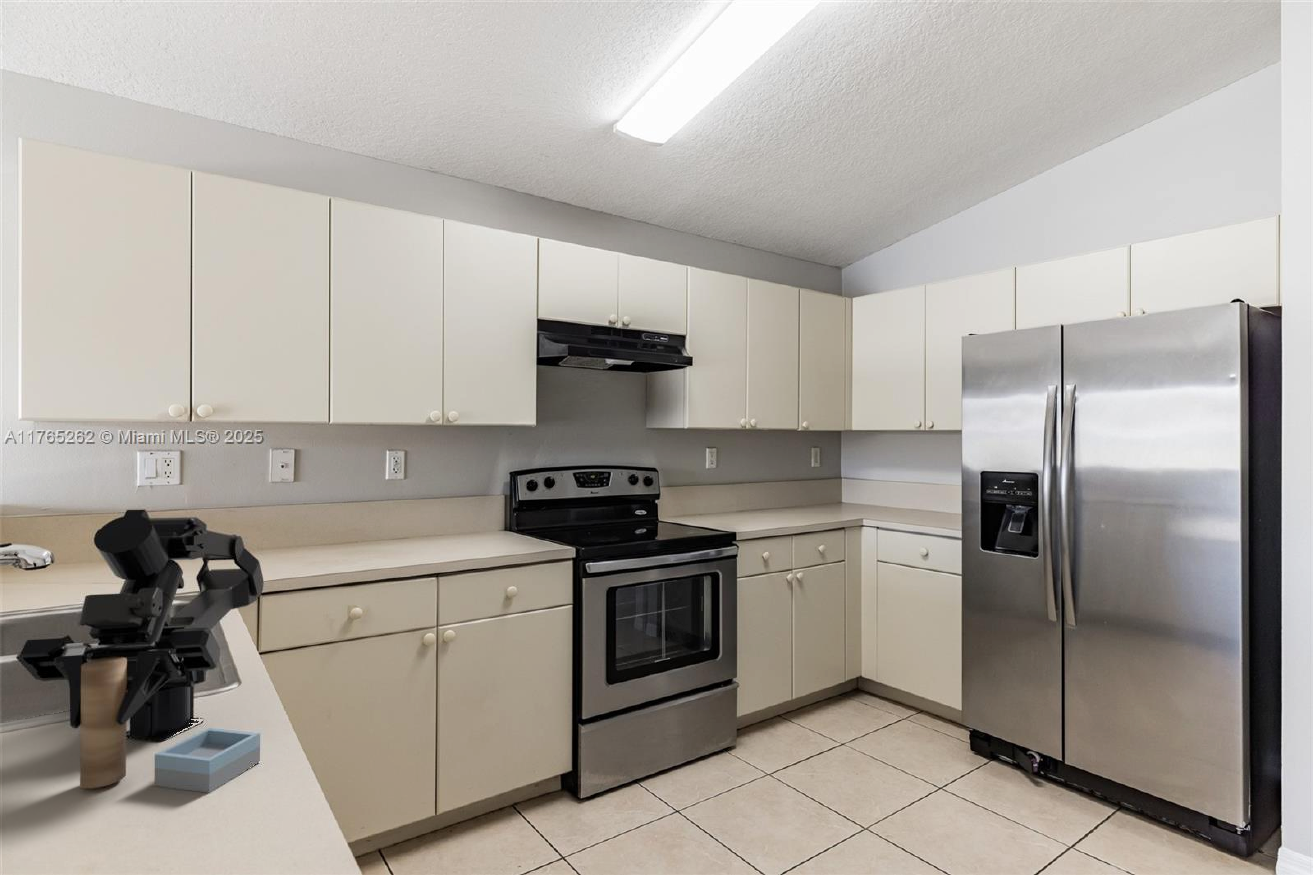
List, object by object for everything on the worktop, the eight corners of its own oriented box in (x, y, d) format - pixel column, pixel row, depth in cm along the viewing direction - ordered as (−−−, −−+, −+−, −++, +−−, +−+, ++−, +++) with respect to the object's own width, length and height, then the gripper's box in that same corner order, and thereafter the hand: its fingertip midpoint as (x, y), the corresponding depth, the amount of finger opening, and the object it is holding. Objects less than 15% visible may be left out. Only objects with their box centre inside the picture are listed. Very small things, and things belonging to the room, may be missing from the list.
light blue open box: (208, 756, 84) (209, 727, 84) (259, 762, 82) (260, 733, 82) (154, 785, 77) (154, 754, 77) (209, 793, 75) (209, 760, 75)
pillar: (106, 769, 80) (107, 655, 80) (135, 772, 79) (136, 658, 79) (70, 786, 76) (71, 667, 76) (100, 790, 75) (101, 669, 75)
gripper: (27, 566, 79) (-45, 699, 68) (212, 560, 83) (172, 684, 73) (67, 618, 86) (7, 745, 76) (234, 610, 91) (201, 728, 80)
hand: (97, 725), depth 76 cm, fingers closed on pillar, 4 cm apart
